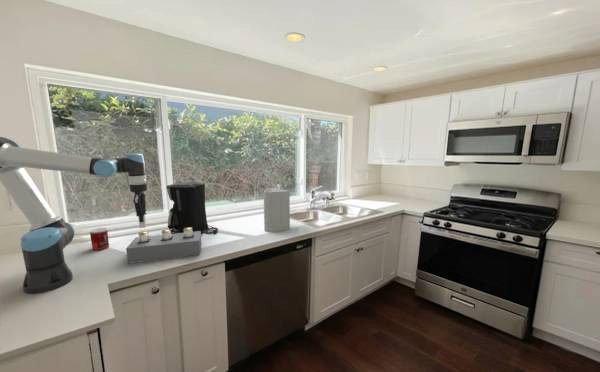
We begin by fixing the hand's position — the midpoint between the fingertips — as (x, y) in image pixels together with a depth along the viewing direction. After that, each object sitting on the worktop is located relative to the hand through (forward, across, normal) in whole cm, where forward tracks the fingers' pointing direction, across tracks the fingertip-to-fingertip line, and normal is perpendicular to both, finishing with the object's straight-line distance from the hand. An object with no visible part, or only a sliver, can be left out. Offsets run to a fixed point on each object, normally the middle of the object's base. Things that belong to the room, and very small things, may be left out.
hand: (142, 227), depth 133 cm
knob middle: (+11, 0, -11) cm, 15 cm away
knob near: (+10, 0, 0) cm, 10 cm away
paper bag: (+17, +20, -75) cm, 80 cm away
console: (+16, 0, -11) cm, 19 cm away
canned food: (+16, +19, +27) cm, 37 cm away
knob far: (+11, 0, -22) cm, 24 cm away
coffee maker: (+16, +31, -20) cm, 40 cm away
